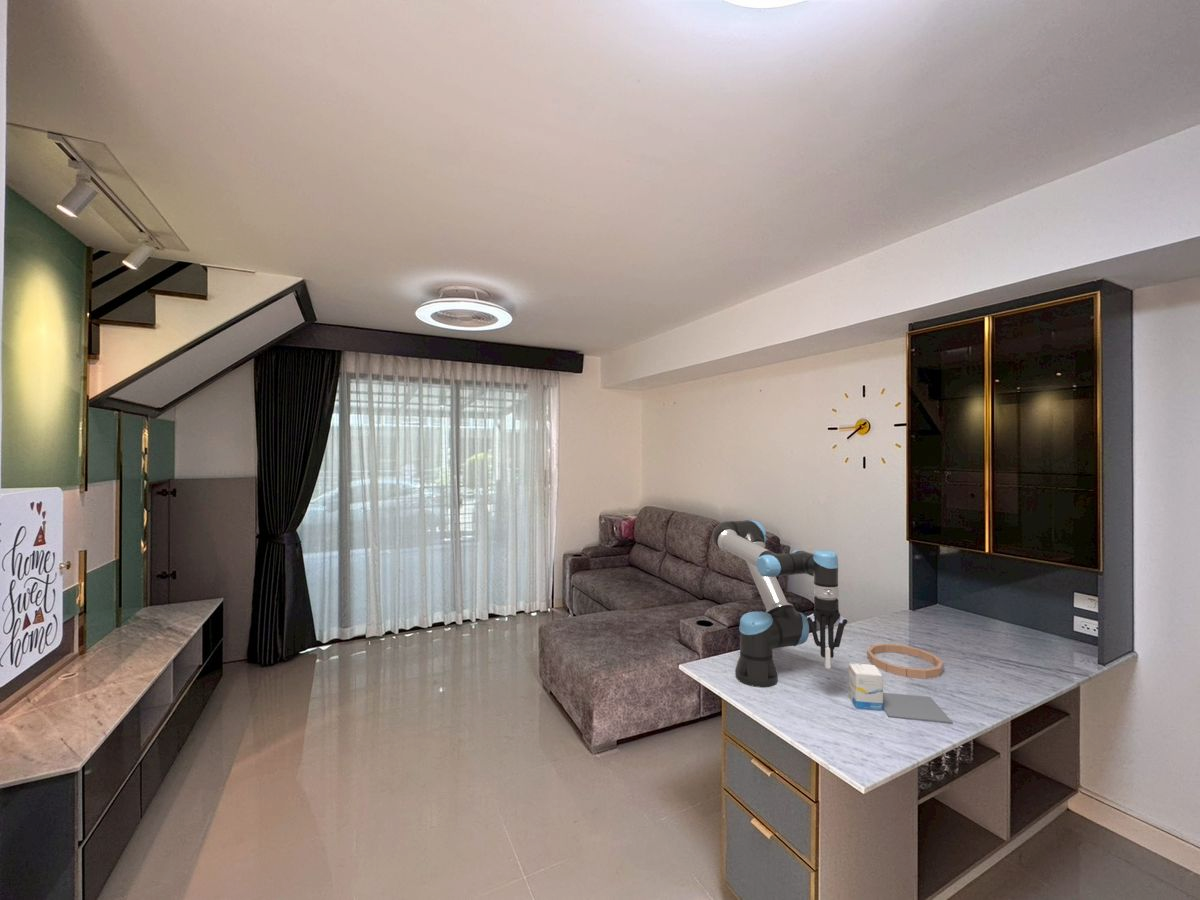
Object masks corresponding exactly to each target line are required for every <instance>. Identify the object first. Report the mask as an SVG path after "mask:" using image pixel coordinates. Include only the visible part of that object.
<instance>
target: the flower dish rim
mask: <svg viewBox="0 0 1200 900" xmlns="http://www.w3.org/2000/svg"><path fill="white" fill-rule="evenodd" d="M883 653H893V654H894V653H895V654H904V655H907V654H908V656H911V655H912V657H916V656H917V657H916V658H919V657H920V658H919V659H922V660H924V659H925V660H924V661H926V660H927V661H926V662H928V663H932V664H933V666H935V667H930V668H924V669H923V668H914V667H913V668H910V667H903V666H900V665H897V664H892V663H889V662H886V661H884V660H882V659H880V658H878V657H876V656H875V655H876V654H883ZM866 658H867V660H868V661H869V663H871V664H870V665H875V666H876V668H877V669H879V670H882V671H884V672H886V673H888V674H889V673H890V674H893V675H897V676H901V677H905V678H911V679H922V678H924V679H923V680H928V678H929V679H933V677H934V678H938V677H937V676H939V677H941V676H942V674H941V673H943V672H944V662H943V661H942V660H941V659H940V658H939V657H938V656H937V655H935V654H933V653H930V652H928V651H926V650H923V649H921V648H916V647H913V646H907V645H903V644H892V643H880V644H874V645H871V646H870V647H869V648H868V649H867V650H866ZM942 671H943V672H942ZM940 675H941V676H940Z"/></svg>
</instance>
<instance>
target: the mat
mask: <svg viewBox="0 0 1200 900" xmlns="http://www.w3.org/2000/svg"><path fill="white" fill-rule="evenodd" d="M883 711H884V713H885V714H886V716H887V718H891V719H901V720H912V721H913V720H914V721H920V722H921V721H922V722H930V723H932V722H933V723H941V724H952V725H953V724H954V722H953V720H952V719H951V718H950V717H949V716H948V715H947V714H946V713H945V711H944V710H943V709H942V708H941V707H940V706H939V705H938V704H937V702H936V701H935V700H934V699H933V698H932V697H931V696H925V695H923V696H922V695H914V694H912V695H911V694H903V693H891V692H883Z"/></svg>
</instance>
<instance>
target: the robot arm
mask: <svg viewBox="0 0 1200 900" xmlns="http://www.w3.org/2000/svg"><path fill="white" fill-rule="evenodd" d="M766 535H767V532H766V529H765V527H764V526H763V524H762V523H760V522H759V521H758V520H752V519H751V520H749V519H744V520H732V521H723V522H719V523H718V524H717V525H716V526H715V527H714V529H713V530H712V533H711V539H712V543H713V544H714V547H716V548H717V549H719V550H721V551H722V552H726V553H731V554H733V555H734V556H736V557H738V558H739V559H742V560H744V561H745V562H746V565H747V567H748V569H749V572H750V573H751V574H750V575H751V576H752V578H753V581H754V584H755V586H756V588H757V590H758V593H759V595H760V598H761V600H762V602H763V605H764V607H765V610H766V611H761V610H760V611H757V610H756V611H749V612H747V613H744V614H742V616H741V617H740V619H739V627H738V629H739V657H738V661H737V663H736V666H735V670H734V672H735V673H734V674H735V675H736V676H735V678H736V679H737V680H738V681H739V680H740V681H739V682H741V683H743V684H745V683H746V684H745V685H747V684H749V686H751V685H753V686H752V687H756V686H760V687H759V688H762V687H763V688H765V687H767V686H768V687H771V686H775V685H777V684H778V680H779V679H778V677H779V676H778V675H779V674H778V671H777V668H776V665H775V662H774V657H773V653H774V652H773V650H774V649H780V648H787V647H797V646H800V645H803V644H805V643H806V642H807V641H808V639H809V633H810V630H811V633H812V636H813V641H814V643H815V646H817V647H819V648H820V656H821V657H822V658H823V665H824V667H825V669H831V659H833V658H834V656H835V655H834V650H835V648H839V647H841V646H840V645H841V640H842V638H843V634H844V630H845V627H846V626H847V624H848V622H849V621H848V620H847V618H846V617H844V616H841V613H840V612H839V611H840V610H839V609H840V608H839V605H840V604H839V603H840V602H839V599H838V598H839V561H838V554H837V553H836V552H835V551H832V550H824V549H823V550H822V549H821V550H814V552H813V553H812V552H808V551H805V550H800V549H795V550H793V551H791V552H790V553H775V552H773V551H771V550H769V549H767V548H766V542H767V536H766ZM792 575H809V576H811V577H813V592H814V593H813V594H814V597H813V599H814V601H813V602H814V603H813V604H814V605H813V606H814V607H813V612H812V613H811V614H810V615H805V614H803V612H800V611H797V610H796V609H795V607H794V604H792V603H790V602H788V600H787V599H786V597H785V594H784V591H783V590H782V587H781V586H780V583H779V580H778V579H777V577H783V576H792ZM815 619H816V620H817V621H818V623H819V635H818V632H817V629H816V625H815V623H814V622H815ZM837 622H838V623H837ZM836 623H837V629H836V631H835V632H836V633H834V629H835V624H836ZM826 626H827V640H828V641H827V644H828V645H826ZM834 634H835V636H834ZM818 636H819V637H818Z"/></svg>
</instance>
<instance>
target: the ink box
mask: <svg viewBox="0 0 1200 900" xmlns="http://www.w3.org/2000/svg"><path fill="white" fill-rule="evenodd" d="M883 676H884V675H882V673H881V671H880V669H879V668H878V667H876V666H875V665H872V664H868V663H866V664H865V663H851V662H849V663H848V698H849V699H850V702H852V705H854V707H855V708H856V709H857V710H869V711H870V710H872V711H884V710H883V693H884V686H883V684H884V683H883V682H884V681H883V680H884V677H883Z"/></svg>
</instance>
